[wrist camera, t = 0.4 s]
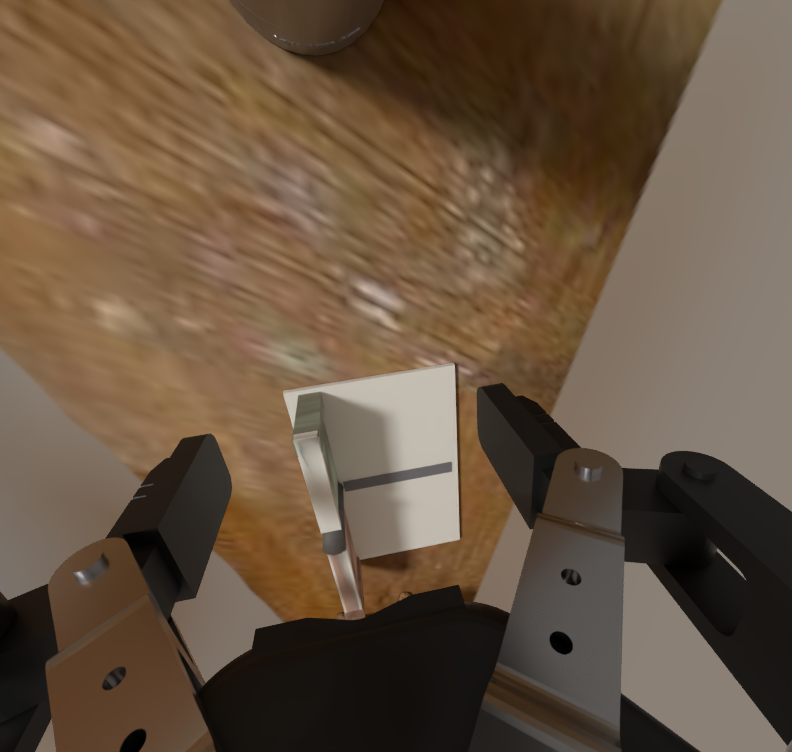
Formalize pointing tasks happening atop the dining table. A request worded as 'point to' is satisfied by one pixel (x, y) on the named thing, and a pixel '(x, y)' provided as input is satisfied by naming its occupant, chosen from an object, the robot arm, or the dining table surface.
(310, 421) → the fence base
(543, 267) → the dining table surface
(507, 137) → the dining table surface
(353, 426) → the card
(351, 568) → the fence panel
